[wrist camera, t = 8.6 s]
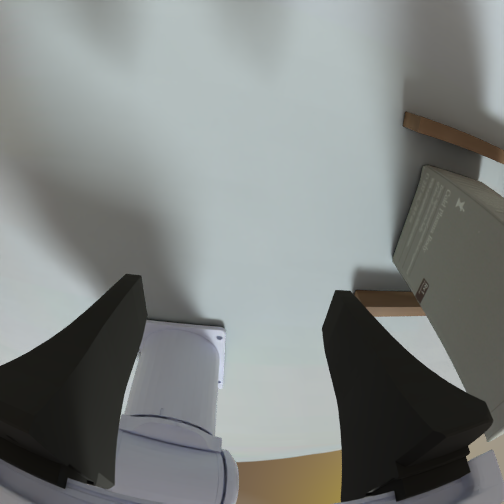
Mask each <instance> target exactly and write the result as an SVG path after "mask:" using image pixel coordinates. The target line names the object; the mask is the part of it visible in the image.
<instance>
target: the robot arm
mask: <svg viewBox="0 0 504 504" xmlns="http://www.w3.org/2000/svg"><path fill="white" fill-rule="evenodd" d="M322 332H323V342H324V349H325V354H326V358H327V362H328V366H329V371H330V374H331V378H332V382H333V387H334V391H335V395H336V399H337V404H338V411H339V420H340V430H341V445H342V487H341V503H335V504H501V503H502V502H503V501H504V482H503V478H502V475H501V472H500V469H499V466H498V463H497V459H496V457H495V454H494V451H493V450H490V451H488V452H486V453H484V454H481V455H479V456H477V457H475V458H473V459H471V460H470V461H468V462H467V459H466V456H467V455H468V454H469V453H470V451H469V448H468V445H469V444H471V443H472V442H473V441H475V440H476V439H477V438H478V437H480V436H481V435H482V434H483V433H485V432H486V431H487V430H488V429H489V428H490V427H491V425H492V423H493V421H494V420H493V418H492V416H491V413H490V411H489V408H488V406H487V404H486V402H485V401H483V400H481V399H479V398H477V397H475V396H472V395H470V394H468V393H466V392H464V391H463V390H461V389H459V388H457V387H456V386H454V385H452V384H451V383H449V382H447V381H446V380H444V379H443V378H441V377H440V376H438V375H437V374H436V373H434V372H433V371H432V370H430V369H429V368H427V367H426V366H425V365H424V364H422V363H421V362H420V361H419V360H417V359H416V358H415V357H414V356H413V355H412V354H410V353H409V352H408V351H407V350H406V349H405V348H404V347H403V346H402V345H401V344H400V343H399V342H398V341H397V340H396V339H394V338H393V337H392V336H391V335H390V333H389V332H388V331H387V330H386V329H385V328H384V327H383V326H382V325H381V324H380V323H379V322H378V321H377V320H376V319H375V317H374V316H373V315H372V314H371V313H370V312H369V311H368V310H367V309H366V307H365V306H364V305H363V304H362V303H361V302H360V301H359V300H358V299H357V297H356V296H355V295H354V294H353V293H352V292H351V291H343V290H335V293H334V296H333V299H332V301H331V304H330V307H329V310H328V313H327V316H326V319H325V321H324V324H323V327H322ZM225 337H226V330H225V329H224V328H223V327H215V326H203V325H191V324H181V323H171V322H162V321H153V320H147V310H146V304H145V298H144V291H143V284H142V277H141V276H140V275H131V274H126V275H125V276H123V277H122V278H121V279H120V280H119V281H118V282H117V283H116V284H115V285H114V286H112V287H111V288H110V289H109V290H108V291H107V292H106V293H105V294H104V295H103V296H102V297H101V298H100V299H98V300H97V301H96V302H95V303H94V304H93V305H92V306H91V307H90V308H89V309H87V310H86V311H85V312H84V313H83V314H82V315H80V316H79V317H78V318H77V319H76V320H74V321H73V322H72V323H71V324H70V325H68V326H67V327H66V328H64V329H63V330H62V331H60V332H59V333H57V334H56V335H55V336H53V337H52V338H50V339H49V340H47V341H46V342H44V343H42V344H41V345H39V346H38V347H36V348H34V349H33V350H31V351H29V352H28V353H26V354H24V355H22V356H20V357H18V358H16V359H14V360H12V361H10V362H8V363H6V364H4V365H1V366H0V504H236V500H237V496H238V489H239V473H238V468H237V464H236V461H235V460H234V458H233V457H232V455H231V454H230V452H229V451H227V450H224V449H221V445H222V438H220V437H215V427H216V410H217V395H218V389H222V388H223V377H224V356H225ZM139 349H140V353H141V355H140V358H139V361H138V365H137V368H136V372H135V376H134V379H133V383H132V387H131V390H130V394H129V398H128V402H127V406H126V410H125V414H122V415H121V409H122V404H123V398H124V394H125V390H126V386H127V383H128V380H129V377H130V374H131V371H132V368H133V365H134V362H135V359H136V356H137V353H138V350H139ZM120 415H121V419H120ZM119 422H120V423H119ZM88 484H89V485H88Z"/></svg>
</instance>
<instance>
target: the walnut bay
mask: <svg viewBox="0 0 504 504" xmlns="http://www.w3.org/2000/svg"><path fill="white" fill-rule="evenodd" d="M403 126H404V127H406V128H409V129H411V130H413V131H416V132H418V133H421V134H425V135H428V136H431V137H434V138H437V139H440V140H443V141H446V142H449V143H452V144H455V145H457V146H460V147H463V148H465V149H468V150H471V151H473V152H476V153H478V154H481V155H483V156H486V157H488V158H490V159H493V160H495V161H497V162H500V163H502V164H504V150H502V149H500V148H498V147H496V146H494V145H492V144H490V143H488V142H485V141H483V140H481V139H479V138H476V137H474V136H472V135H469V134H467V133H465V132H462V131H460V130H457V129H455V128H452V127H449V126H447V125H444V124H441V123H439V122H436V121H433V120H430V119H427V118H424V117H421V116H418V115H415V114H412V113H409V112H405V117H404V122H403ZM354 295H355V296H356V297H357V299H358V300H359V301H360V302H361V303H362V304H363V305H364V306H365V307H366V309H367V310H368V311H369V312H370V313H371V314H372V315H373V316H374V317H383V316H426V314H425V312H424V311H423V309H422V307H421V306H420V304H419V302H418V301H417V299H416V297H415V296H414V294H413V292H401V291H367V290H356V291H355V294H354Z"/></svg>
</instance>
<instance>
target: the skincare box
mask: <svg viewBox="0 0 504 504" xmlns="http://www.w3.org/2000/svg"><path fill="white" fill-rule="evenodd" d="M393 263H394V264H395V266H396V267H397V269H398V270H399V272H400V274H401V275H402V277H403V278H404V280H405V281H406V283H407V284H408V286H409V288H410V289H411V291H412V292H413V294H414V296H415V297H416V299H417V301H418V302H419V304H420V306H421V307H422V309H423V311H424V312H425V314H426V316H427V318H428V319H429V321H430V323H431V324H432V326H433V328H434V330H435V331H436V333H437V335H438V337H439V339H440V340H441V342H442V344H443V346H444V348H445V350H446V352H447V354H448V356H449V357H450V359H451V361H452V363H453V365H454V367H455V369H456V371H457V373H458V375H459V377H460V379H461V381H462V384H463V386H464V388H465V390H466V392H467V393H468V394H470V395H472V396H475V397H477V398H479V399H481V400H483V401H485V402H486V404H487V406H488V408H489V411H490V413H491V416H492V418H493V420H494V421H493V423H492V425H491V427H490V428H489V429H488V430H487V431H486V432H485V433H484V434H485V436H486V439H487V442H489V441H491V440H493V439H495V438H497V437H499V436H501V435H502V434H504V198H503V197H502V196H500V195H499V194H498V193H496V192H495V191H494V190H492V189H491V188H489V187H488V186H487V185H485V184H484V183H482V182H480V181H477V180H474V179H471V178H468V177H465V176H462V175H459V174H456V173H453V172H450V171H447V170H443V169H440V168H436V167H433V166H429V165H427V166H425V165H424V166H423V169H422V172H421V179H420V182H419V185H418V188H417V191H416V194H415V197H414V199H413V202H412V205H411V208H410V211H409V213H408V216H407V219H406V222H405V225H404V228H403V230H402V233H401V236H400V239H399V242H398V244H397V247H396V250H395V253H394V256H393Z"/></svg>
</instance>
